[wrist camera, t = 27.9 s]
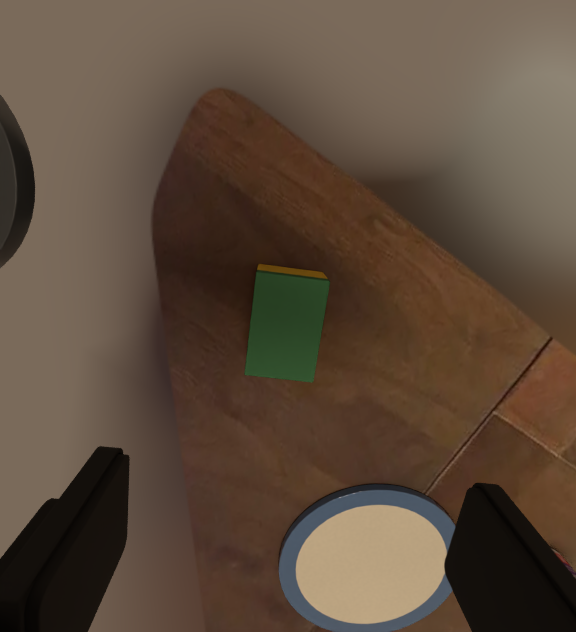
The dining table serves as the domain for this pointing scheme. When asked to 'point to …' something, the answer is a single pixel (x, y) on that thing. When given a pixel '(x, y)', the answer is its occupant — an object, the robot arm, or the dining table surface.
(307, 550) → the plate
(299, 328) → the sponge
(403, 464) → the dining table surface
